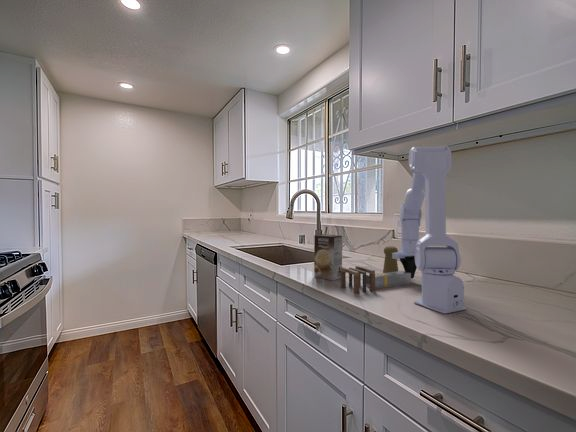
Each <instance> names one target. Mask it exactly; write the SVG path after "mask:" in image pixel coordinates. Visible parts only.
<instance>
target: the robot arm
mask: <svg viewBox="0 0 576 432" xmlns="http://www.w3.org/2000/svg"><path fill="white" fill-rule="evenodd" d="M408 165H409V168H410V171H411V172H412V180H411V186H410V188H409V189H407V191H406V193H405V196H404V200H403V201H404V202H403V203H402V204H401V205H400V207H399V212H398V213H399V214H398V215H399V221H400V222H401V227H400V229H401V230H400V231H401V232H400V233H401V234H400V235H401V239H400V240H401V247H400V249H401V250H399V251H398V252H395V253H392V258H393V259H397V260H399V261H400V263H401V265H402V267H403V269H404V270H403V271H406V272H410V273H411V280H412V279H414V277H415V275H416V271H417V269H418V270H419V271H421V299H417V300H414V301H413V303H414V304H416V305H418V306H422V307H425V308H427V309H430V310H432V311H436V312H437V313H441V314H449V313H450V314H451V313H454V312H455V313H456V312H460V311H463V310H466V308H467V307H466V306H465V304H464V303H465V299H464V297H465V287H464V286H465V285H464V281H463V280H462V279H461V278H460V277H458V276H456V272H457V271H458V269H459V268H460V266H461V262H462V261H461V260H462V259H461V253H460V249H459V243H458V242H457V240H454V239H453V238H452V237H450V236H449V235H448V234H447V225H446V224H447V218H446V217H447V213H446V211H447V210H446V209H447V208H446V205H447V204H446V202H447V201H446V175H447V174H448V173H451V171H452V166H453V165H452V150H451V149H450V148H449V146H448V145H442V146H413V147H411V148H410V150H409V153H408ZM424 191H425V192H424ZM424 202H425V203H424ZM423 203H424V204H425V210H424V211H425V235H424V236H422V237H420V227H421V220H422V216H423V215H422V213H423V212H422V206H423Z"/></svg>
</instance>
